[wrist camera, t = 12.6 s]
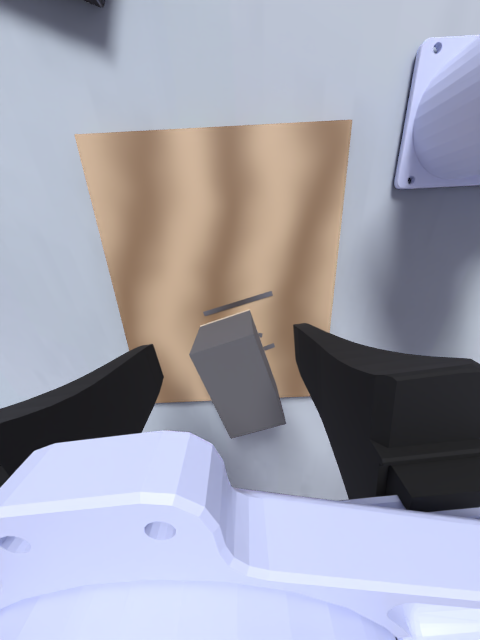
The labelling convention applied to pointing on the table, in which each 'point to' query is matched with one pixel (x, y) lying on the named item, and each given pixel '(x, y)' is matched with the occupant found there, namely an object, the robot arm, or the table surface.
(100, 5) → the disk drive
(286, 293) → the oak board
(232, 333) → the block
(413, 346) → the table surface
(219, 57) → the table surface
